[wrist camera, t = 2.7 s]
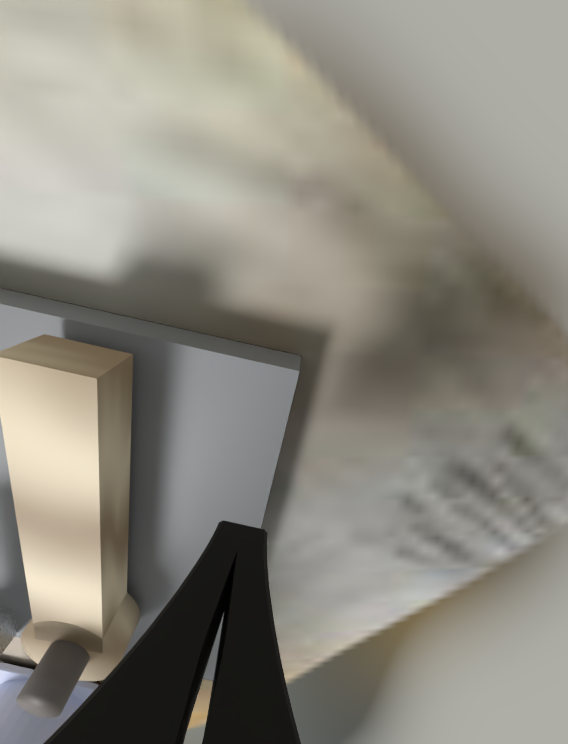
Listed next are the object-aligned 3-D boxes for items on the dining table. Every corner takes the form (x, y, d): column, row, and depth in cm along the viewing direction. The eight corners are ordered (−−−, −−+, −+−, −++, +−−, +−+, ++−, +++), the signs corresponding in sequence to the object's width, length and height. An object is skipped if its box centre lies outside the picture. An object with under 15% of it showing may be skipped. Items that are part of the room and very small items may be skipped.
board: (228, 652, 21) (222, 682, 19) (-90, 581, 21) (-118, 606, 19) (301, 355, 13) (299, 371, 11) (-216, 239, 13) (-280, 241, 11)
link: (140, 637, 18) (95, 743, 14) (59, 618, 18) (-8, 720, 14) (156, 356, 11) (80, 417, 8) (28, 327, 11) (-111, 375, 8)
